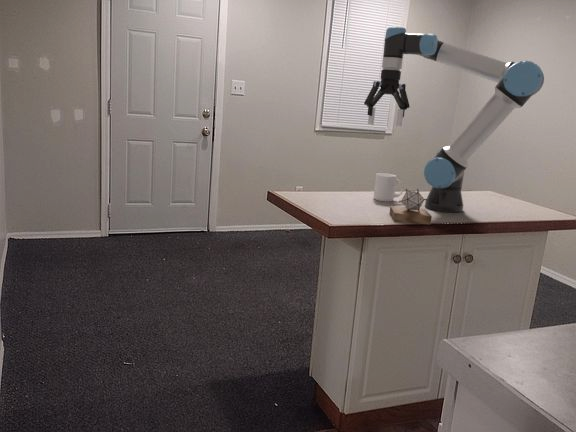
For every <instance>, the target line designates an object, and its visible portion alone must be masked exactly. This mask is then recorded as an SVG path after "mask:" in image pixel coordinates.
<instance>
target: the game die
mask: <svg viewBox="0 0 576 432" xmlns="http://www.w3.org/2000/svg"><path fill="white" fill-rule="evenodd" d="M426 200H427V198H424V197H423V196H422V194H421V193H420V191H419V188H417V189H416V190H408V189H407V188H405V193H404V194H403V197H402V198H401V200H399V201H398V202H399V203H402V204H403V206H404V207H406V208H407V209H408V210H407V212H408V211H409V210H418V211H419V212H420V210H419V209H421V208H422V205H423V203H425V201H426Z"/></svg>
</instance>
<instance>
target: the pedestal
mask: <svg viewBox="0 0 576 432" xmlns="http://www.w3.org/2000/svg"><path fill="white" fill-rule="evenodd" d="M407 210H408V209H407V208H406V207H405V206H404V207H403V206H394V205H390V207H389V213H388V214H389V215H390V217H391V219H392V222H396V223H409V224H419V225H420V224H421V225H431V224H432V217H433V216H432V215H431V214H430V213H429V211H428V210H427V209H426V208H420V209H419V210H420V212H419V211H418V210H409V211H408V212H407Z"/></svg>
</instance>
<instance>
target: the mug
mask: <svg viewBox="0 0 576 432" xmlns="http://www.w3.org/2000/svg"><path fill="white" fill-rule="evenodd" d="M397 177H398V176H397V175H395V174H392V173H385V172H384V173H382V172H381V173H380V172H379V173H375V183H374V188H373V189H374V190H373V198H374V200H376V201H378V202H379V201H380V202H393V201H394V199H395V198H399V197H400V196H402V194H403V192H404V184H403V182H402V181H401V180H399V179H398V178H397ZM396 184H399V185H400V186H401V192H400V193H396Z"/></svg>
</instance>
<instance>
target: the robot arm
mask: <svg viewBox="0 0 576 432" xmlns="http://www.w3.org/2000/svg"><path fill="white" fill-rule="evenodd" d="M383 41H384V44H383V54H382V64H381V68H382V69H381V72H380V80H379V81H377V80H374V81H373V84H372V88H371V89H370V90H369V93H368V94H367V96H366V98H365V101H364V102H363V103H364V106H366V107H367V116H368V121H367V124H368V125H372V126H373V125H374V124H375V123H374V121H375V116H376V115H375V114H376V107H374V106H375V105H376V104H377V103H378V102H379V101H380V100H381V98H382V97H383V96H384V95H392V96H393V99H394V100H395V102H396V104H397V106H398V108H397V112H396V121H395V126H398V127H402V125H403V118H404V117H405V111H406V110H407V109H409V108H411V107H410V102H409V99H408V94H407V91H406V86H407V85H406V83H400V81H401V75H402V72H401V70H402V67H403V59H404V55H417V56H421V57H423V58H424V59H428V60H431V61H433V62H438V63H440V64H443V65H445V66H449V67H452V68H454V69H458V70H460V71H464V72H466V73H469V74H472V75H475V76H478V77H480V78H483V79H486V80H488V81H491V82H494V83H497V84H496V85H495V86H494V94H493V95H492V97H491V98H490V99H488V101H487V102H486V103H485V104H484V106H483V107H482V108H481V109H480V110H479V111H478V113H476V115H475V116H474V117H473V118H472V119H471V121H470V122H469V123H468V124H467V125H466V127H464V129H462V131H461V132H460V133H459V134H458V136H457V137H456V138H455V139H454V140H453V141H452V142H451V143H450V145H447V146H443V147H442V148H441V149H440V150H438V151H437V152H436V155H435V156H434V157H433V158H431V159H430V160H428V161H427V163H426V165H425V166H424V169H423V175H424V179H425V181H426V183H427V184H428V185H429V186H431V189H430V191H429V193H428V195H427V197H426V199H427V200H424V207H425V208H427V209H430V210H433V211H439V212H444V213H462V212H463V210H464V201H463V195H462V194H463V193H462V187H463V181H464V175H465V170H466V169H467V168H468V167H469V163H468V162H469V160H470V159H471V157H472V156H474V154H475V153H476V152H477V151H478V149H480V147H482V146H483V144H484V143H485V142H486V141H487V140H488V139H489V137H491V135H492V134H493V133H494V132H495V131H496V130H497V129H498V128H499V126H500V125H501V124H502V123H504V121H505V120H506V119H507V118H508V116H510V114H511V113H512V112H513V111H514V110H515V109H520V108H522V107H523V106H524V105H525V104H526V103H527V102H528V101H529V99H531V98H532V96H534V95H536V94H537V93H538V92H539V91H540V90H541V89H542V87H543V86H544V83H545V76H544V73H543V70H542V69H541V67H540V66H539V65H538V64H537V63H535V62H533V61H531V60H521V61H520V60H519V61H517V62H514V61H513V60H512V61H509V62H505V61H502V60H499V59H496V58H493V57H489V56H486V55H483V54H481V53H477V52H475V51H473V50H472V51H471V50H468V49H465V48H462V47H459V46H456V45H454V44H450V43H447V42H444V41H442V40H439V39H438V36H437V35H436V34H434V33H409V32H407V29H406V28H405V27H401V26H390V27H387V29H386V30H385V37H384V40H383Z"/></svg>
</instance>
